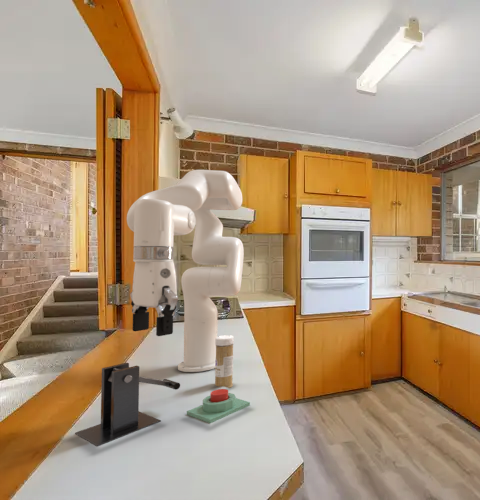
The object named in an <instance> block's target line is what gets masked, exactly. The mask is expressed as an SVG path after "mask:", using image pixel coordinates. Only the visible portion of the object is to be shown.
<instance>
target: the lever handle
mask: <svg viewBox="0 0 480 500" xmlns="http://www.w3.org/2000/svg"><path fill="white" fill-rule="evenodd" d="M116 370H121V369H117V368H114V369H113V371H116ZM108 381H110V382H112V373H111V375H110V377H109V379H108ZM139 383H143V384H149V385H154V386H155V385H156V386H163V387H166V388H169V389H172V390H175V391H177V390H179V389H180V388H181V383H180V382H177V381H174V380H170V379H167V378H164V379H157V378H152V377H146V376H140V375H139Z"/></svg>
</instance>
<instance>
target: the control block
mask: <svg viewBox="0 0 480 500" xmlns="http://www.w3.org/2000/svg"><path fill="white" fill-rule="evenodd" d="M249 406H251V402H250V401H247V400H245V399H240V398H237V397H236V395H235V393H232V392H228V399H227V400H225V401H221V402H210V395H207V396H206V397H204V398H203V400H202V404H201V405H199V406H196V407H194V408H190V409H189V410H187V411H186V415H187V416H190V417H192V418H196V419H198V420H200V421H202V422H206V423H208V424H212V423H214V422H217V421H219V420H221V419H224V418H225V417H227V416H230V415H233V414H235V413H236V412H238V411H241V410H243V409H245V408H247V407H249Z"/></svg>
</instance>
